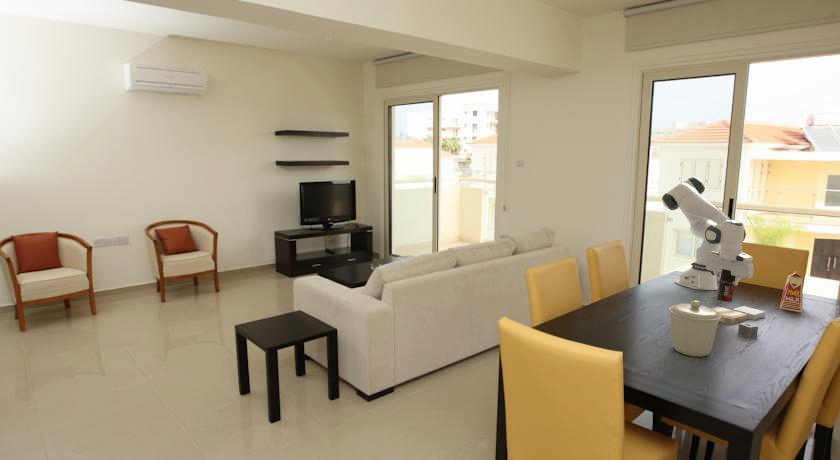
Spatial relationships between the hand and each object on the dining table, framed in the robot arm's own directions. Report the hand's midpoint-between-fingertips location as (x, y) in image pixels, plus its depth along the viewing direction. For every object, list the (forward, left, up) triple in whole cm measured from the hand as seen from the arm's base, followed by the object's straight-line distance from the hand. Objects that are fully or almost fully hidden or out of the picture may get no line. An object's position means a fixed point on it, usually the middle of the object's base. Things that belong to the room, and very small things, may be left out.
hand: (727, 283), depth 237 cm
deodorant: (0, 0, -9) cm, 9 cm away
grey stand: (+4, +14, -17) cm, 22 cm away
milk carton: (+9, +45, -17) cm, 49 cm away
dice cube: (+19, -15, -17) cm, 30 cm away
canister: (+17, -54, -17) cm, 59 cm away
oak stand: (0, 0, -17) cm, 17 cm away
